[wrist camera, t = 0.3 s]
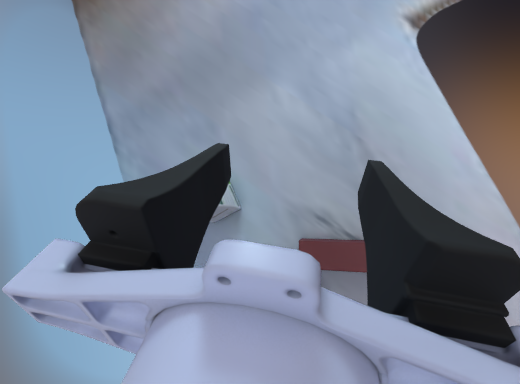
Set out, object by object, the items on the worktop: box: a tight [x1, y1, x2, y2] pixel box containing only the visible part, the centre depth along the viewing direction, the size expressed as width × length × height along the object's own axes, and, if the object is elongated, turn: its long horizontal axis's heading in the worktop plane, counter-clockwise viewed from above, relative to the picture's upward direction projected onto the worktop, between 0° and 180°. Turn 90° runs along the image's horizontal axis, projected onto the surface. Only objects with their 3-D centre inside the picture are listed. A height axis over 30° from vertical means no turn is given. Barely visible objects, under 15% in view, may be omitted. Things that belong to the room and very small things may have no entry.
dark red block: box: [299, 239, 367, 272], centre depth 38 cm, size 4×10×4 cm, turn 89°
